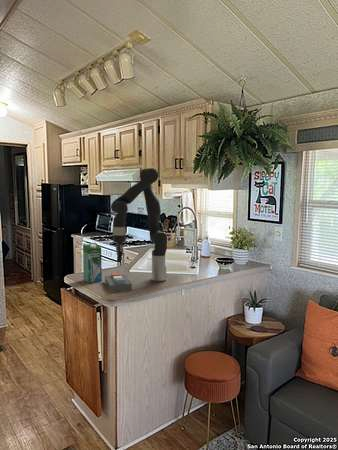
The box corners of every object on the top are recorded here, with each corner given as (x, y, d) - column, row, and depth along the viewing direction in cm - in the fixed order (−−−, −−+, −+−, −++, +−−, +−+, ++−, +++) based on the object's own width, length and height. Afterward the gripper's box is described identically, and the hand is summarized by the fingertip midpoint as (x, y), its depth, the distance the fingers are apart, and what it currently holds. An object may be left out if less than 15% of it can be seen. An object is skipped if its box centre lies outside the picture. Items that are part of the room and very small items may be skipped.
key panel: (124, 280, 222) (124, 274, 221) (131, 290, 201) (131, 283, 201) (105, 281, 217) (104, 276, 217) (110, 292, 197) (110, 285, 196)
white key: (120, 280, 212) (120, 275, 212) (122, 282, 207) (122, 277, 207) (113, 280, 211) (113, 276, 210) (114, 283, 206) (114, 278, 205)
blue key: (123, 282, 205) (123, 277, 205) (124, 284, 201) (124, 279, 200) (115, 282, 204) (115, 278, 203) (116, 285, 199) (116, 280, 199)
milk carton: (88, 283, 213) (88, 245, 210) (83, 280, 221) (82, 243, 218) (101, 281, 219) (101, 244, 216) (96, 278, 226) (95, 242, 223)
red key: (118, 276, 219) (118, 272, 218) (120, 278, 214) (120, 274, 214) (111, 277, 217) (111, 273, 217) (112, 279, 213) (112, 275, 212)
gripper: (127, 235, 194) (127, 264, 196) (123, 232, 206) (123, 259, 208) (114, 235, 191) (115, 265, 193) (111, 232, 204) (111, 260, 206)
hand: (119, 262), depth 201 cm, fingers closed
